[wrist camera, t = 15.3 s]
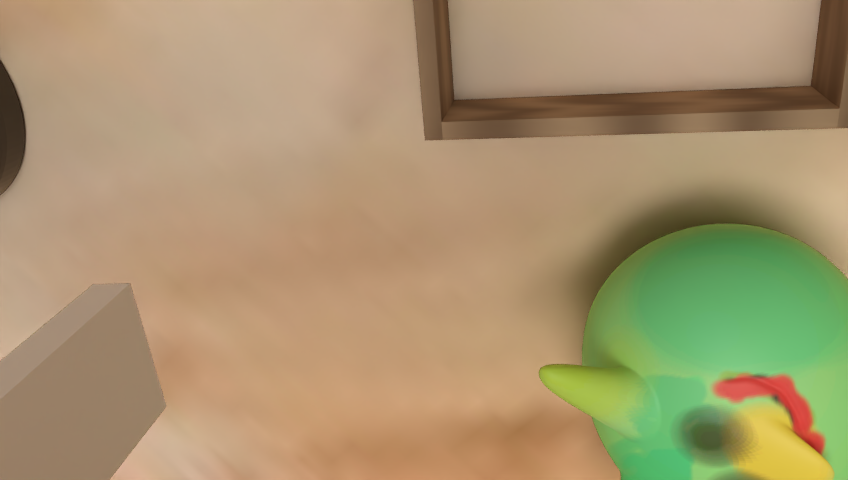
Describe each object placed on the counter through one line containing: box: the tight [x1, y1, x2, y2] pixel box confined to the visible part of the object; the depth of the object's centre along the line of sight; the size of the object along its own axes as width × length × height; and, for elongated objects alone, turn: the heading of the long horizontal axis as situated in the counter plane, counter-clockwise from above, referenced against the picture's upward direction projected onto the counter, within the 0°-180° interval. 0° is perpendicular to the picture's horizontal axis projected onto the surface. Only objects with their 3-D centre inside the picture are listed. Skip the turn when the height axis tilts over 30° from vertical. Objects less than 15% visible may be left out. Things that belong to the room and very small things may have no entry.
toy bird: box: [539, 224, 848, 480], centre depth 42 cm, size 18×17×15 cm
